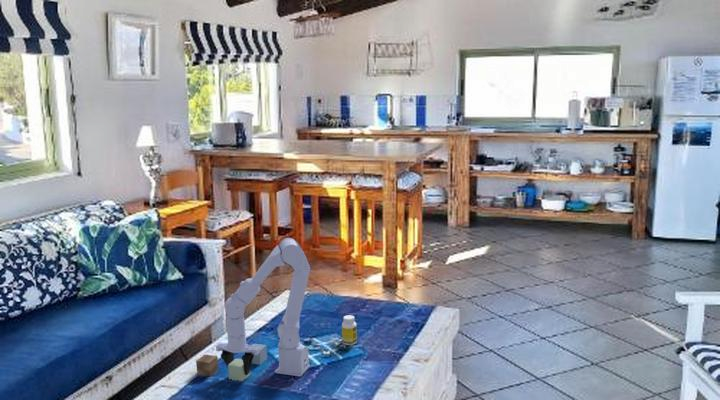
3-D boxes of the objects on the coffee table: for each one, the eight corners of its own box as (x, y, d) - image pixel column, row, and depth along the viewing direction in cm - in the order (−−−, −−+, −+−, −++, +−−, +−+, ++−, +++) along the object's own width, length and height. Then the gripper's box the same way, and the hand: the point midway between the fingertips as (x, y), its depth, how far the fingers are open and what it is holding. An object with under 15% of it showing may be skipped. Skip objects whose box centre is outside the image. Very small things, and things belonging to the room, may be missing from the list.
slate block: (267, 358, 215) (266, 345, 214) (260, 364, 210) (259, 351, 209) (254, 356, 216) (253, 343, 215) (247, 363, 212) (246, 349, 211)
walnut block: (218, 369, 207) (217, 356, 206) (210, 376, 203) (209, 362, 202) (205, 368, 209) (204, 354, 208) (197, 374, 204) (196, 360, 203)
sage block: (250, 374, 204) (249, 360, 203) (242, 381, 199) (241, 366, 198) (236, 372, 205) (235, 358, 204) (229, 379, 201) (228, 365, 200)
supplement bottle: (355, 346, 222) (354, 320, 220) (340, 345, 223) (339, 319, 221) (358, 339, 227) (357, 314, 225) (344, 338, 228) (343, 313, 226)
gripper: (262, 330, 201) (265, 369, 204) (222, 327, 205) (225, 364, 208) (252, 339, 194) (255, 379, 197) (211, 335, 198) (214, 374, 201)
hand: (239, 372), depth 202 cm, fingers closed on sage block, 5 cm apart
